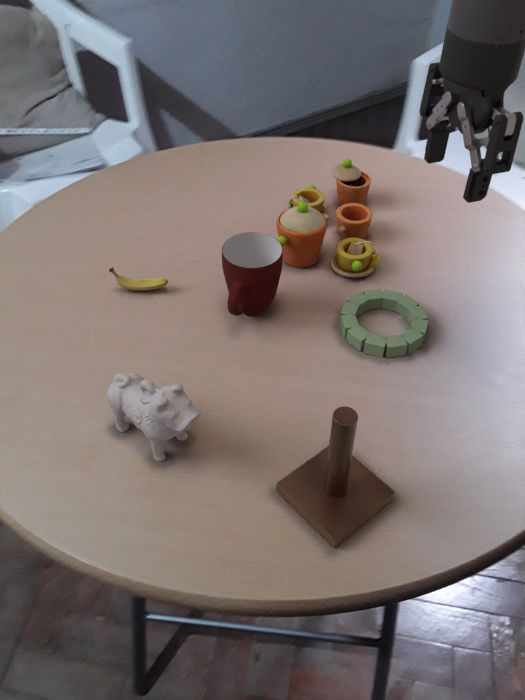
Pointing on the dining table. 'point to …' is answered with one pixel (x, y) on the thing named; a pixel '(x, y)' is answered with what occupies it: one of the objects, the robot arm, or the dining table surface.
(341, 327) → the ring
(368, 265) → the toy tea set
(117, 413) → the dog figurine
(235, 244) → the mug
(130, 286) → the banana
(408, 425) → the dining table surface
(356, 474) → the holder
